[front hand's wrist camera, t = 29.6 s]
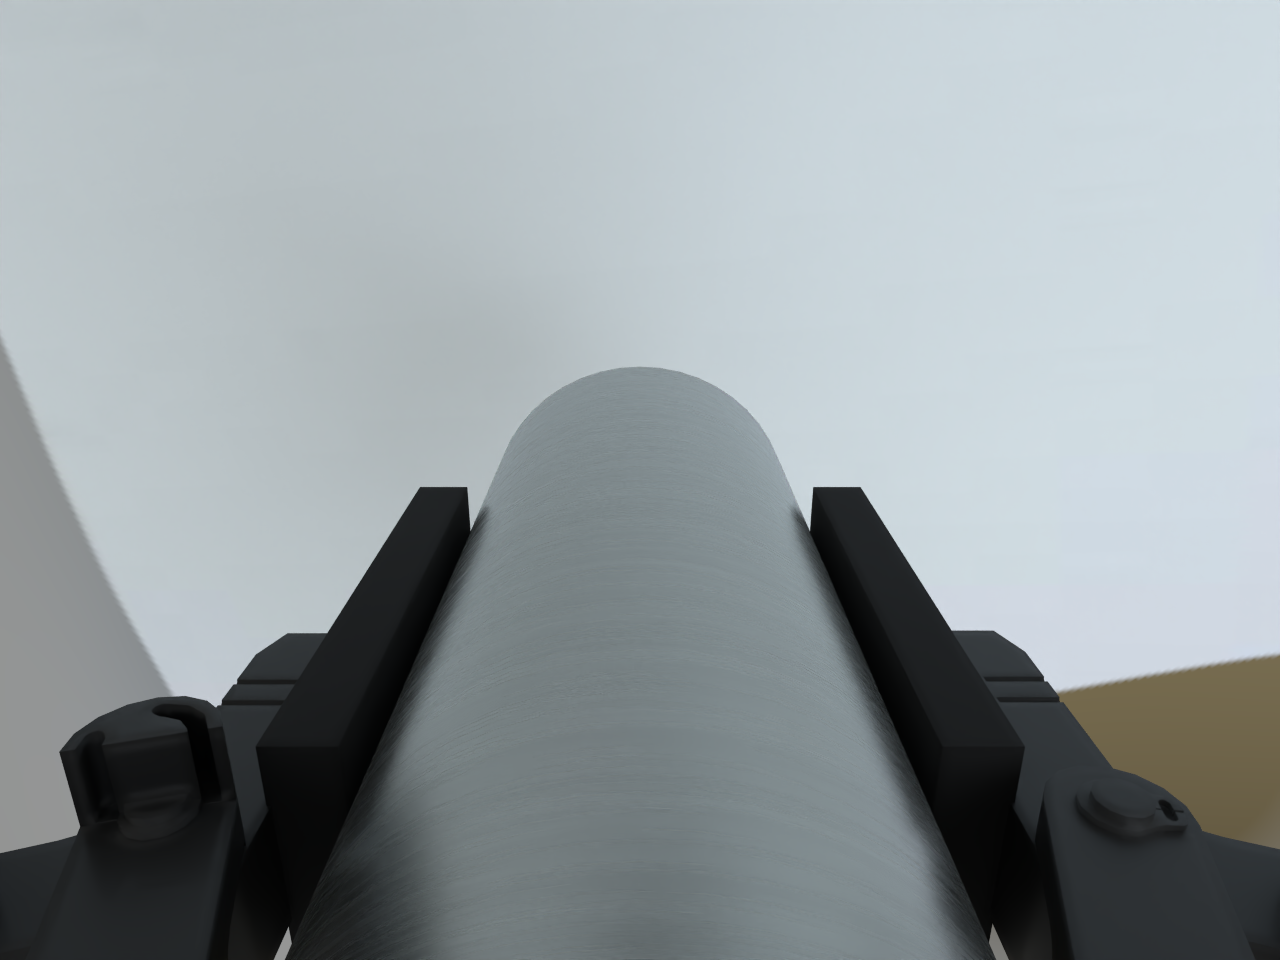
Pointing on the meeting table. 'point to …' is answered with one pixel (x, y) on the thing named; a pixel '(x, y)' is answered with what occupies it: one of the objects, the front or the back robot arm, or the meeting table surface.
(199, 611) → the meeting table surface
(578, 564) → the tin
